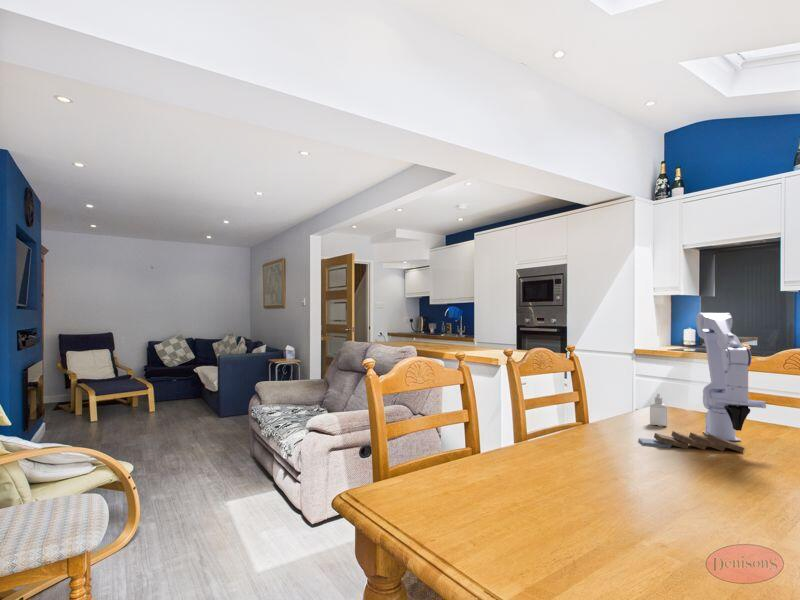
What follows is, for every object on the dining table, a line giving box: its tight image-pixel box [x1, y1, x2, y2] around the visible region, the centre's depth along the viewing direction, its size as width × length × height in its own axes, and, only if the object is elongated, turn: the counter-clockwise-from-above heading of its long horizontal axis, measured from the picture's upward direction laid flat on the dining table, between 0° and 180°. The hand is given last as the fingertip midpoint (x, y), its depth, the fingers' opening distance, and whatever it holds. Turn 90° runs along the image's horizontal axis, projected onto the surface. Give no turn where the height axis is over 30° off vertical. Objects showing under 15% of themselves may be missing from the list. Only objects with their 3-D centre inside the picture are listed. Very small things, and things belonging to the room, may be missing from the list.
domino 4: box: [688, 431, 726, 452], centre depth 136 cm, size 2×5×8 cm
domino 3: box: [670, 430, 707, 451], centre depth 137 cm, size 2×5×8 cm
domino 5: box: [706, 434, 745, 454], centre depth 134 cm, size 2×5×8 cm
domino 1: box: [638, 437, 672, 448], centre depth 139 cm, size 2×5×8 cm
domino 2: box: [653, 432, 689, 450], centre depth 138 cm, size 2×5×8 cm
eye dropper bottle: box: [649, 393, 668, 427], centre depth 163 cm, size 4×6×12 cm
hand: (737, 429), depth 134 cm, fingers closed
